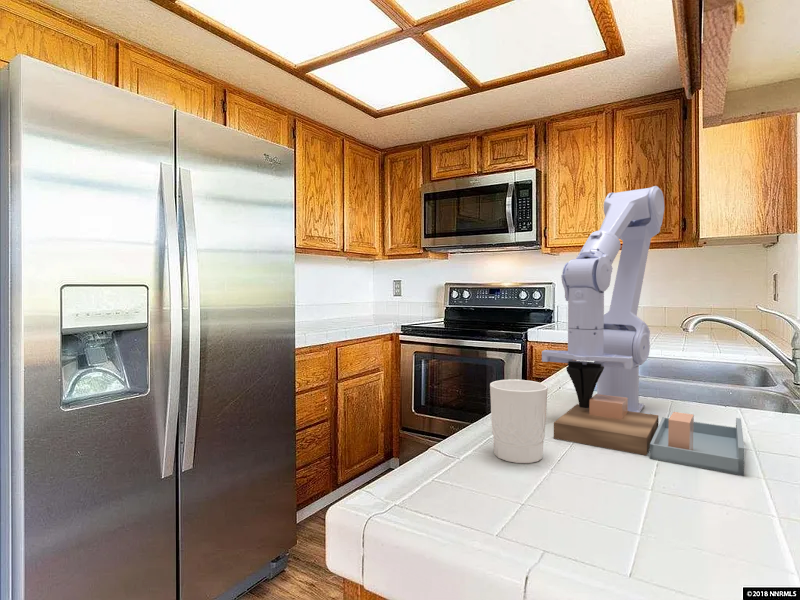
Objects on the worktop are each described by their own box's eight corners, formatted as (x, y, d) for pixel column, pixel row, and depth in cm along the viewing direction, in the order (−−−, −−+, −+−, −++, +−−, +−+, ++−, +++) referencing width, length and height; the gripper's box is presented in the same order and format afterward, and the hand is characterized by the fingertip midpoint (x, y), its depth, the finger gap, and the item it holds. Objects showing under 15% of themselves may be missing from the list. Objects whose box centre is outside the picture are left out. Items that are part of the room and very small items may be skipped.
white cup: (482, 459, 64) (482, 387, 64) (498, 442, 71) (498, 377, 71) (541, 469, 60) (541, 393, 60) (551, 450, 67) (552, 382, 67)
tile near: (673, 411, 68) (693, 414, 66) (673, 445, 68) (693, 449, 67) (668, 419, 64) (689, 422, 62) (668, 455, 64) (689, 459, 63)
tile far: (596, 408, 81) (596, 393, 81) (627, 412, 78) (627, 397, 78) (589, 414, 77) (589, 399, 77) (622, 419, 74) (622, 403, 74)
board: (576, 417, 84) (577, 404, 84) (658, 430, 77) (658, 415, 77) (553, 438, 73) (553, 422, 73) (646, 455, 65) (646, 437, 65)
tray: (662, 429, 77) (662, 408, 77) (740, 441, 71) (740, 418, 71) (649, 458, 64) (649, 433, 64) (743, 476, 58) (744, 448, 58)
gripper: (536, 327, 80) (535, 405, 81) (627, 332, 72) (626, 418, 72) (549, 325, 86) (548, 397, 87) (635, 328, 78) (634, 409, 78)
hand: (584, 406), depth 80 cm, fingers closed
